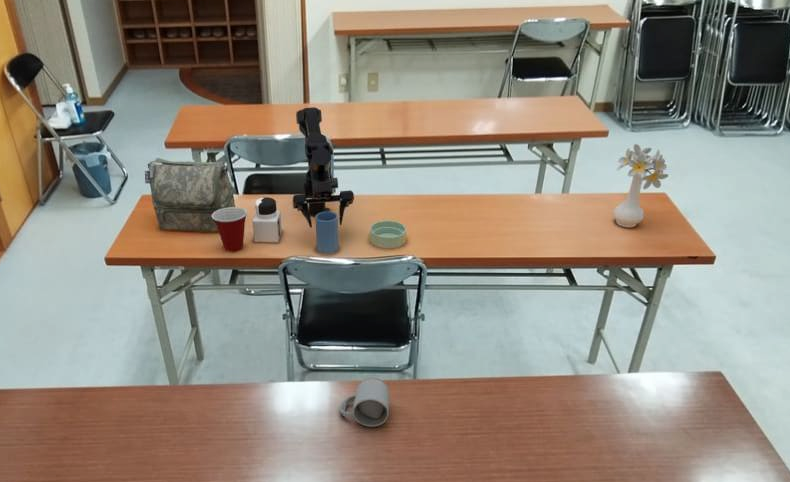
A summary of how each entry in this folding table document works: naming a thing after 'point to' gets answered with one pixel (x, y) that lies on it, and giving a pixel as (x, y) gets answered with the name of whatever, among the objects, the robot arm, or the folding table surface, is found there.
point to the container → (267, 221)
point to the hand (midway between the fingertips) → (326, 226)
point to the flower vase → (638, 183)
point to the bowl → (387, 234)
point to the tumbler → (327, 232)
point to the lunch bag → (188, 193)
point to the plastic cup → (231, 227)
